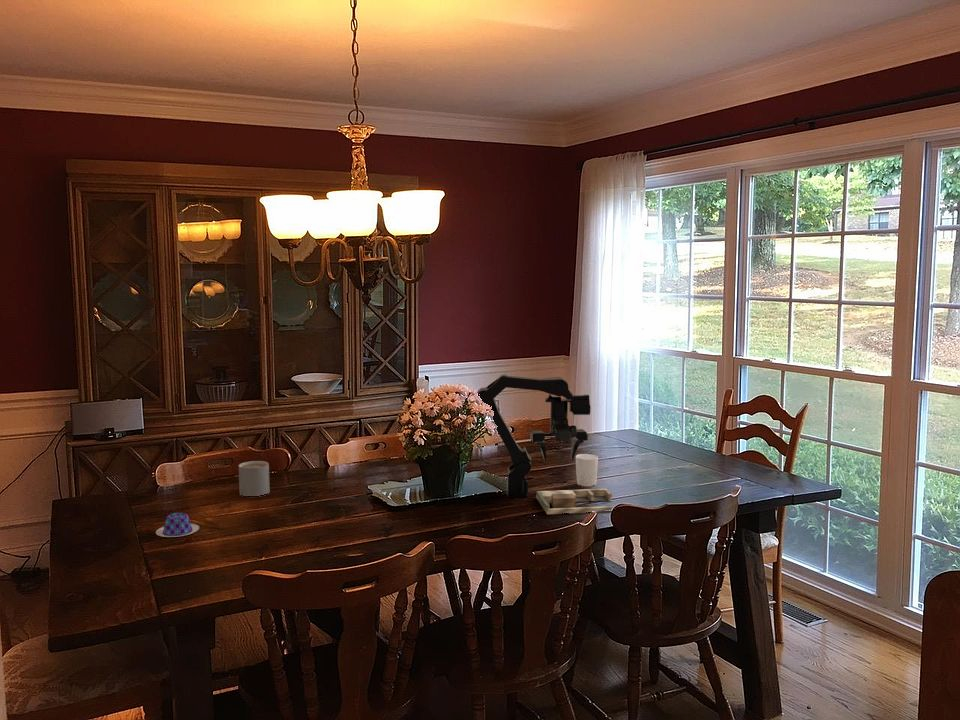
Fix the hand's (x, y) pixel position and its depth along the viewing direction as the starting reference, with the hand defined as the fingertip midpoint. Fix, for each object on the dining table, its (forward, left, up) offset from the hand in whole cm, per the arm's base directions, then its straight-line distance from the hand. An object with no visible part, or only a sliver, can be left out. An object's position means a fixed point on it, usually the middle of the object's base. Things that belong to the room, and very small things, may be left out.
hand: (558, 460), depth 268 cm
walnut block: (-1, -14, -12) cm, 18 cm away
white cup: (+13, +12, -12) cm, 21 cm away
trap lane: (+4, -11, -12) cm, 17 cm away
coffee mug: (-103, +18, -12) cm, 105 cm away
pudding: (-119, -21, -12) cm, 122 cm away
